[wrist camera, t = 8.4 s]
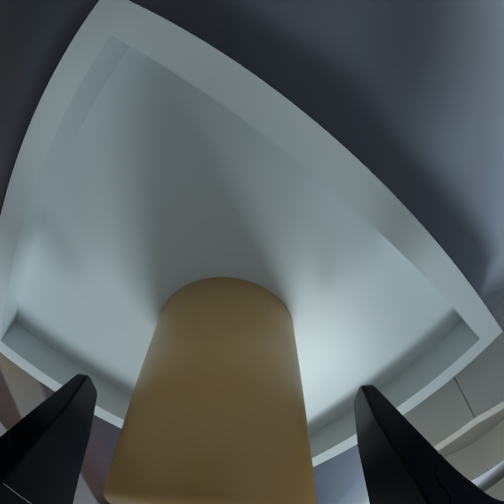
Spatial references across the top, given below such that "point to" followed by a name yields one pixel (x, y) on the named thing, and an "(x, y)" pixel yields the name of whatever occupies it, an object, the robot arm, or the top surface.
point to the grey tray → (214, 229)
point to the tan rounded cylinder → (217, 405)
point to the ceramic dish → (468, 414)
